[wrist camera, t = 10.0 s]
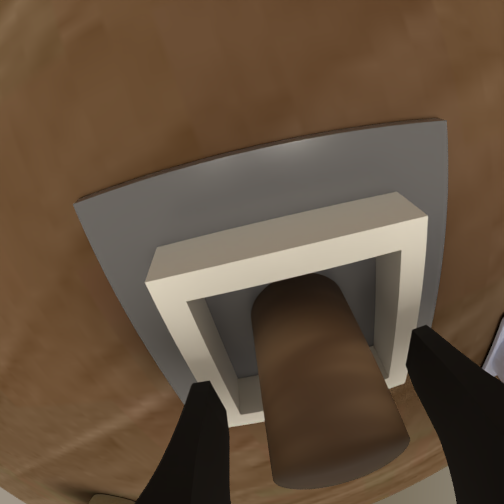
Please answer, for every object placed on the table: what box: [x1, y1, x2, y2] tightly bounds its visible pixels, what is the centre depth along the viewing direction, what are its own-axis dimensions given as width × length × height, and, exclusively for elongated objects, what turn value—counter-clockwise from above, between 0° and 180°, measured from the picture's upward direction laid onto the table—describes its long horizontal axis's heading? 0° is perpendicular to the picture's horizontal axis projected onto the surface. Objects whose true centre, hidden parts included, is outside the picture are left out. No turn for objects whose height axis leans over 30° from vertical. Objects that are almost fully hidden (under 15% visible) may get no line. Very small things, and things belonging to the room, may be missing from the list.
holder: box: [73, 118, 448, 427], centre depth 13 cm, size 14×14×3 cm
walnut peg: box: [251, 273, 410, 489], centre depth 10 cm, size 4×4×7 cm
